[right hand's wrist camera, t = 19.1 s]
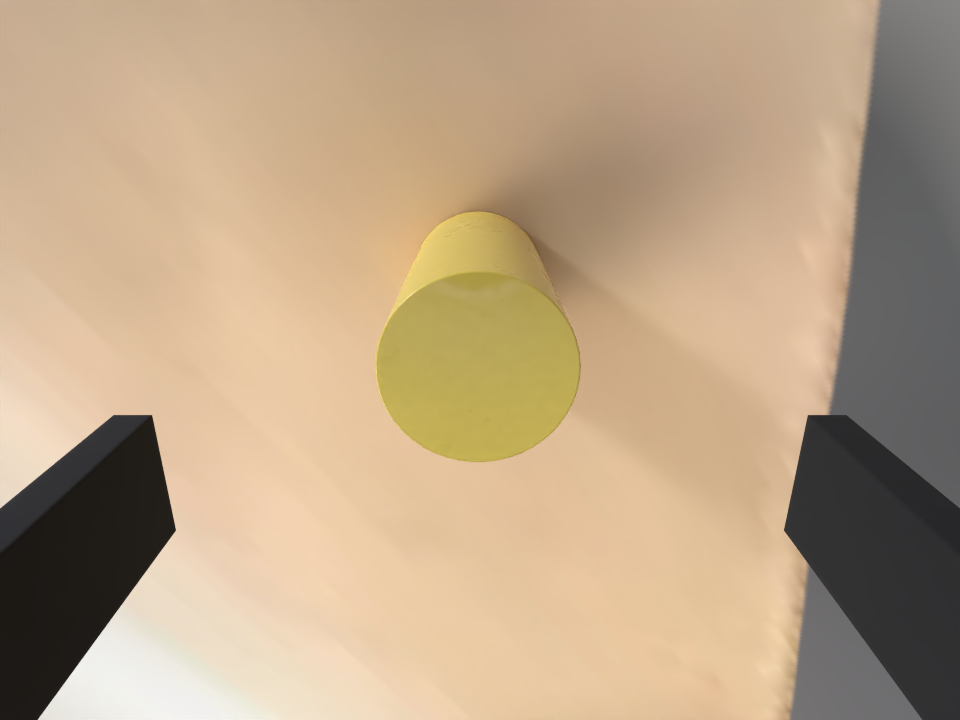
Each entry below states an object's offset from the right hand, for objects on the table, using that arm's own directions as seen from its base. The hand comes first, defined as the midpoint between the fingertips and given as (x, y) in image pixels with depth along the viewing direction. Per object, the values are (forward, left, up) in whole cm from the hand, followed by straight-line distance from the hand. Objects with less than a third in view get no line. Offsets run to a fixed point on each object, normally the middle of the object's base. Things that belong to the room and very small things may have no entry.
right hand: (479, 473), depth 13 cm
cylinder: (0, 0, -19) cm, 19 cm away
